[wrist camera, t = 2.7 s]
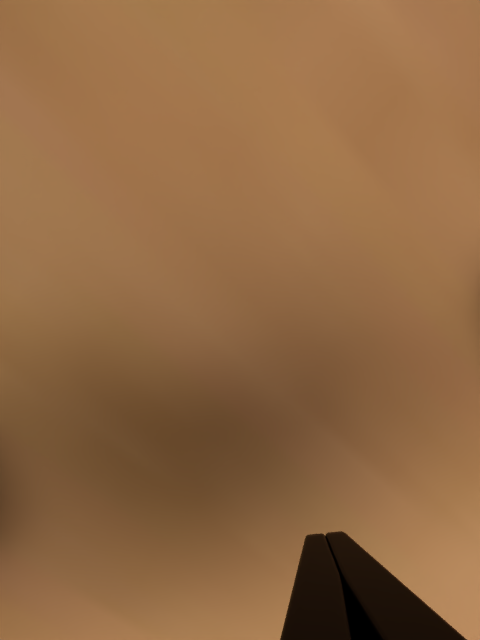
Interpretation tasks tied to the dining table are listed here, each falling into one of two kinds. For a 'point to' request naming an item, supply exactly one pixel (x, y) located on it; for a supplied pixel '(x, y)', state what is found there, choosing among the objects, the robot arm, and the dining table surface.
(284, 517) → the dining table surface
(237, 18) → the dining table surface
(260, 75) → the dining table surface
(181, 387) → the dining table surface
